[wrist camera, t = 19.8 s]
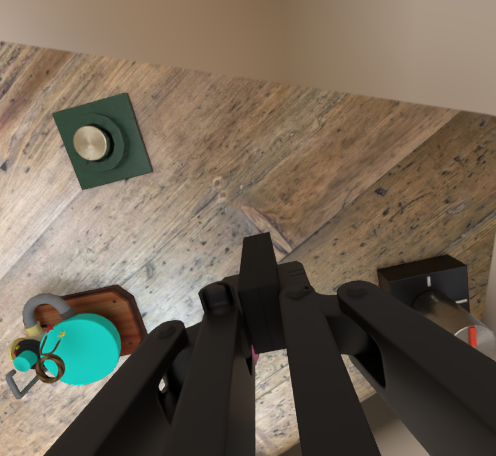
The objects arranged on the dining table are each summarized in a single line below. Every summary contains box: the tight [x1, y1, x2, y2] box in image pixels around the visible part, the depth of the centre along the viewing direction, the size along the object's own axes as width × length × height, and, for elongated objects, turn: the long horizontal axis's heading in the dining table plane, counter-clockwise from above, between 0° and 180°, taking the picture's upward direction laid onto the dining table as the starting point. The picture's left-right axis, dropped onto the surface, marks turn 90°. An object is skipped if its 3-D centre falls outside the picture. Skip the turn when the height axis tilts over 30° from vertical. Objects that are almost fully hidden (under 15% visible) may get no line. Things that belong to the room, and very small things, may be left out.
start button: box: [73, 126, 113, 160], centre depth 37 cm, size 4×4×2 cm
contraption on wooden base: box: [6, 285, 148, 399], centre depth 40 cm, size 14×18×15 cm
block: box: [52, 93, 153, 190], centre depth 38 cm, size 10×10×2 cm
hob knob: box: [412, 290, 496, 357], centre depth 36 cm, size 5×5×8 cm
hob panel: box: [377, 255, 470, 313], centre depth 42 cm, size 10×10×4 cm
